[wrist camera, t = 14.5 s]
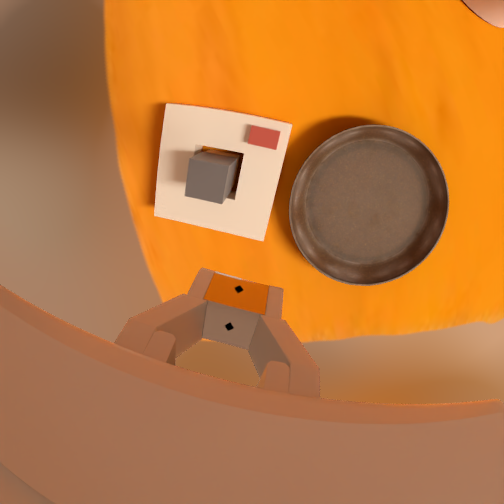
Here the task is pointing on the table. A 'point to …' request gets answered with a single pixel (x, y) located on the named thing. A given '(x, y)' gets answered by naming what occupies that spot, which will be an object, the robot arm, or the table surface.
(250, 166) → the socket plate
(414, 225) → the plant saucer
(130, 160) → the table surface
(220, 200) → the plug
